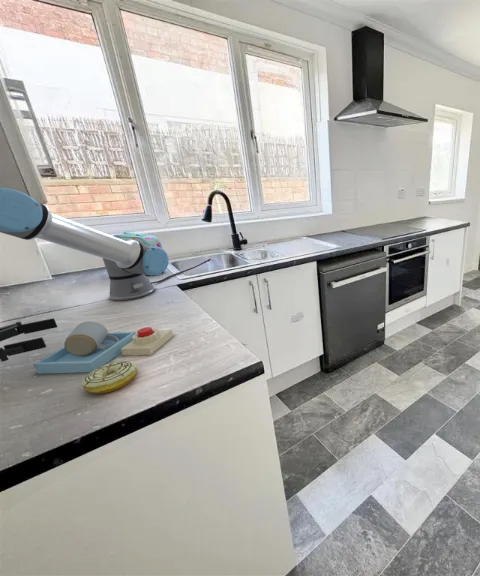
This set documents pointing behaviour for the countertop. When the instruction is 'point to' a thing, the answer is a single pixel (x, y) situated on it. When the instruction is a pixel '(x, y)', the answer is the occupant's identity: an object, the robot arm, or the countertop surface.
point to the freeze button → (145, 332)
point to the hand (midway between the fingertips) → (50, 331)
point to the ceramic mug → (88, 339)
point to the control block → (147, 343)
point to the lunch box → (140, 238)
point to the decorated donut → (109, 377)
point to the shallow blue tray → (83, 357)
